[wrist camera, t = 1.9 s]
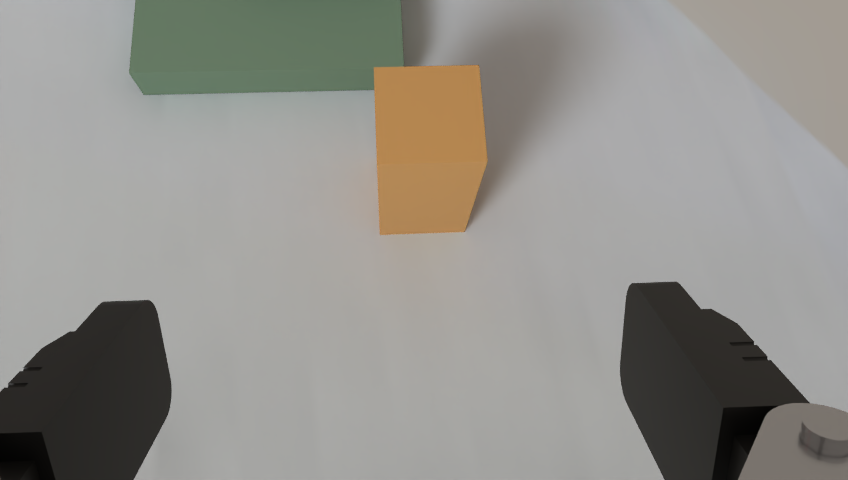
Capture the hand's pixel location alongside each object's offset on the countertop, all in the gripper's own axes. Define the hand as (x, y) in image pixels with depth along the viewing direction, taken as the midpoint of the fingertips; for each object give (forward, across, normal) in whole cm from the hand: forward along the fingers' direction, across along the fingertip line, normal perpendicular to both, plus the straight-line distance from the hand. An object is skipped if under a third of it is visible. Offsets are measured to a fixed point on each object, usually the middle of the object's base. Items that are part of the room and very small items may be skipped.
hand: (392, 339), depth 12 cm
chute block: (+29, -1, +7) cm, 30 cm away
